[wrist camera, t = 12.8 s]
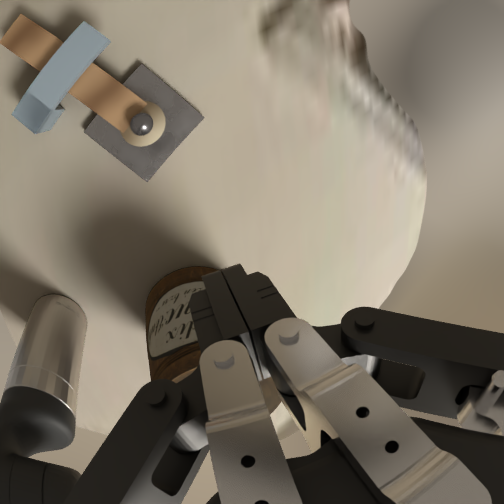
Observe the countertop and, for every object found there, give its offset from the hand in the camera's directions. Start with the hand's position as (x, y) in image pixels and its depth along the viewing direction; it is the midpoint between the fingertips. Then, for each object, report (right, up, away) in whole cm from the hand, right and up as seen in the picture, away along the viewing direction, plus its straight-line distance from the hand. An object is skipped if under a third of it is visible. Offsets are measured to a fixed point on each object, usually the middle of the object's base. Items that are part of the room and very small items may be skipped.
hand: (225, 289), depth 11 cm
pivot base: (-11, +16, +20) cm, 28 cm away
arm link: (-18, +21, +14) cm, 31 cm away
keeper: (-20, +21, +15) cm, 32 cm away
